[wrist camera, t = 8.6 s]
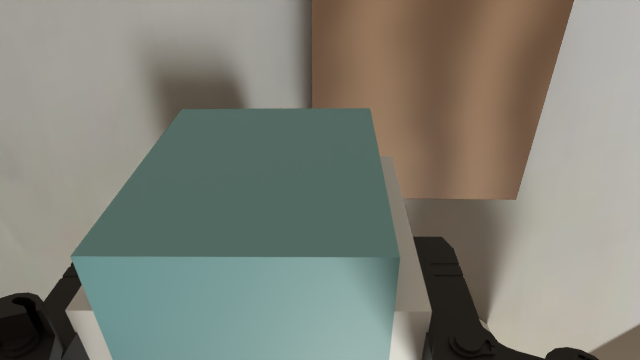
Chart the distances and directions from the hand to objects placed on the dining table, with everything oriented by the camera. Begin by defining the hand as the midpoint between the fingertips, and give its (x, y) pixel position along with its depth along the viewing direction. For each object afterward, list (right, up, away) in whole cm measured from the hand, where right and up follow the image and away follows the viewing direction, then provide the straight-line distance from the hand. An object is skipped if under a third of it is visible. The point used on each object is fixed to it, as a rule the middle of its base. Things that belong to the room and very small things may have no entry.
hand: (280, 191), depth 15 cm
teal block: (0, 0, 0) cm, 0 cm away
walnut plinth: (+8, +8, +16) cm, 19 cm away
